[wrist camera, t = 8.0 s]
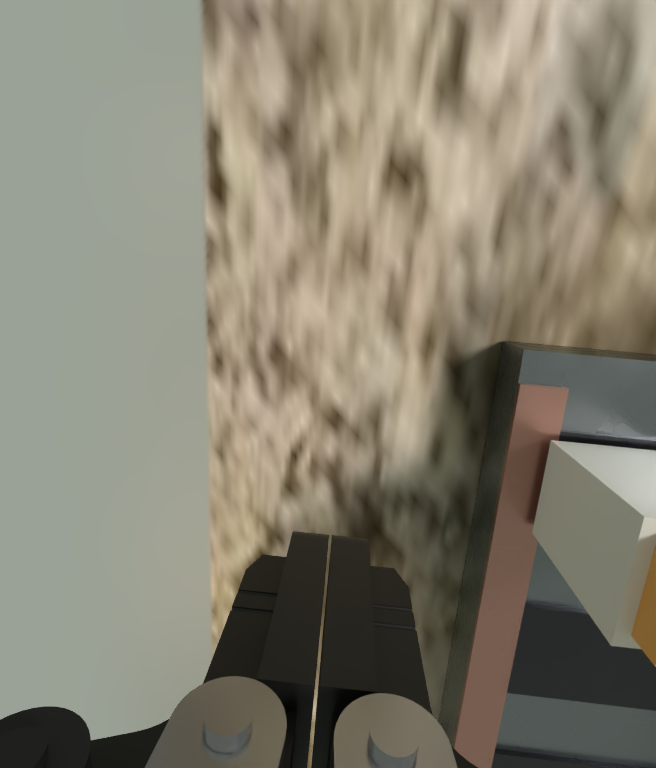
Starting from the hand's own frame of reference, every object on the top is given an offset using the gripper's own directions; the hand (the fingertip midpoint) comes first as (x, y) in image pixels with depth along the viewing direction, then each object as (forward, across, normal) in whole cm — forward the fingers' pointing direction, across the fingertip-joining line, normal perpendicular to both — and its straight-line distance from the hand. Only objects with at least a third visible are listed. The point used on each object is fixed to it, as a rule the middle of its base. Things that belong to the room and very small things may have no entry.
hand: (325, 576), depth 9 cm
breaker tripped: (+5, -8, 0) cm, 9 cm away
